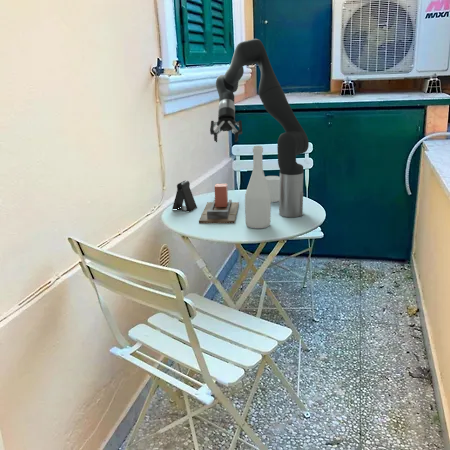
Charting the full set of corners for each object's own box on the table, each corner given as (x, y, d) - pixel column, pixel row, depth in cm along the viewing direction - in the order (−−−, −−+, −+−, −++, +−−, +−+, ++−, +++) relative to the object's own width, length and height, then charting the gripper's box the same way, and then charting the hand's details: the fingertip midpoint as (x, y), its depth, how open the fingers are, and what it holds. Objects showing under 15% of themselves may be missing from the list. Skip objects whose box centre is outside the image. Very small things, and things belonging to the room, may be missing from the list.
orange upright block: (227, 203, 192) (227, 183, 189) (226, 207, 188) (226, 186, 185) (216, 203, 193) (215, 183, 190) (215, 207, 188) (214, 186, 185)
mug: (252, 200, 202) (252, 178, 198) (260, 196, 208) (260, 174, 205) (276, 203, 196) (276, 180, 192) (283, 198, 203) (284, 176, 199)
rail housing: (238, 204, 196) (238, 195, 194) (234, 223, 171) (234, 213, 170) (207, 204, 197) (207, 195, 196) (198, 223, 172) (198, 213, 171)
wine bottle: (247, 220, 174) (246, 144, 164) (271, 221, 172) (272, 144, 162) (243, 228, 165) (243, 148, 155) (269, 229, 163) (270, 148, 154)
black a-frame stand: (197, 208, 192) (195, 181, 188) (190, 212, 187) (189, 184, 183) (178, 206, 196) (177, 179, 192) (172, 210, 190) (170, 182, 186)
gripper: (210, 106, 199) (209, 136, 192) (242, 106, 198) (242, 135, 191) (211, 117, 206) (210, 146, 199) (242, 116, 205) (242, 146, 198)
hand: (226, 141), depth 195 cm, fingers open, 8 cm apart
